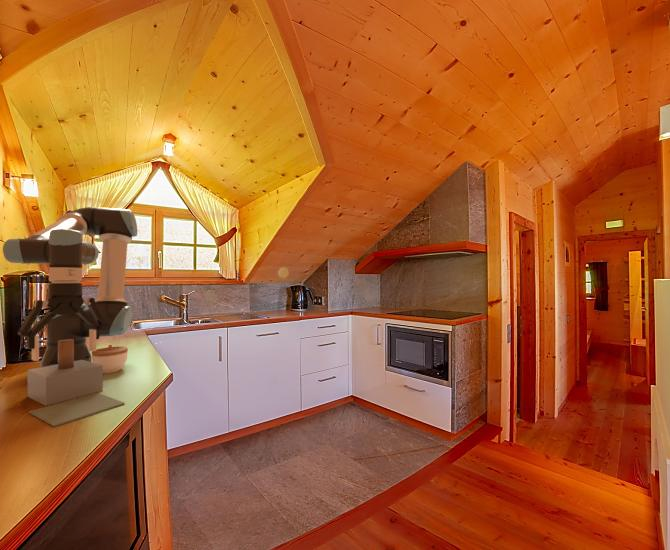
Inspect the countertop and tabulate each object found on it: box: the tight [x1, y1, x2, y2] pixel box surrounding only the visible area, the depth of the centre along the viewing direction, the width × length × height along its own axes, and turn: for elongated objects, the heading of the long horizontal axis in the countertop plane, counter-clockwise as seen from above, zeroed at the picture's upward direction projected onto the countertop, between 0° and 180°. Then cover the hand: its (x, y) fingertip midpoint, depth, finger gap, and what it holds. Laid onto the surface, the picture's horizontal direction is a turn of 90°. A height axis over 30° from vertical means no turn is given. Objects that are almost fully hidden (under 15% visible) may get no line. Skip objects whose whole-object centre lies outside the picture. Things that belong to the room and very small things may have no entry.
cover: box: [27, 339, 104, 407], centre depth 94 cm, size 13×13×16 cm
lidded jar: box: [91, 344, 129, 374], centre depth 117 cm, size 11×11×9 cm
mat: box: [28, 392, 126, 428], centre depth 83 cm, size 15×15×1 cm
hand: (65, 355), depth 94 cm, fingers open, 13 cm apart
